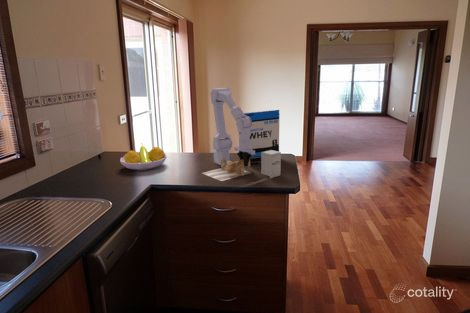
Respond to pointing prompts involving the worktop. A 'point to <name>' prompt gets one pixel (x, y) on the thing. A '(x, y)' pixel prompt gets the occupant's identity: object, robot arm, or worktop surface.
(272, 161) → the supplement box
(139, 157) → the fruit bowl
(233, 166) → the wooden block
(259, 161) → the protein powder
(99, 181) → the worktop surface
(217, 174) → the halving base
